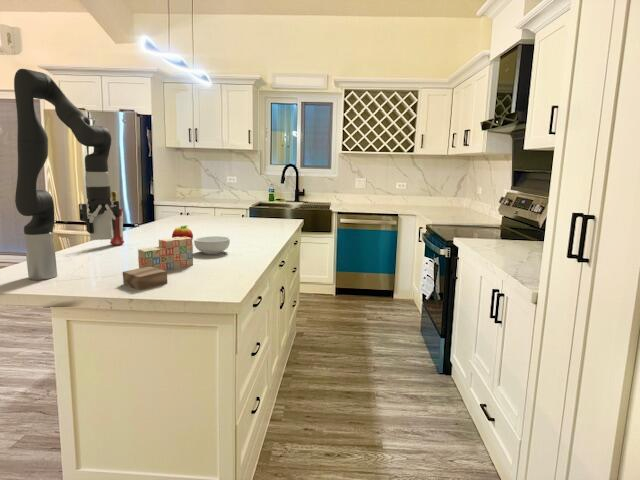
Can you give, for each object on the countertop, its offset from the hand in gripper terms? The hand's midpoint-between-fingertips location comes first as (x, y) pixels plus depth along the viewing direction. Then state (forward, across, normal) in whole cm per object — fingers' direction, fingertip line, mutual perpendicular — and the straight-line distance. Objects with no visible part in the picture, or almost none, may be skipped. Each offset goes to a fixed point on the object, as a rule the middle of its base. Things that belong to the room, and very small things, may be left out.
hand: (101, 231), depth 153 cm
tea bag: (+3, 0, 0) cm, 3 cm away
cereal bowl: (+20, -64, -7) cm, 67 cm away
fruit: (+20, -70, -34) cm, 81 cm away
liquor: (+20, -51, -62) cm, 83 cm away
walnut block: (+20, -10, +10) cm, 24 cm away
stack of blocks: (+20, -30, -2) cm, 37 cm away
